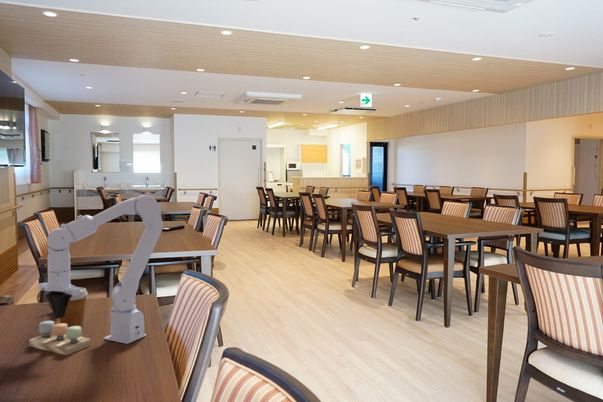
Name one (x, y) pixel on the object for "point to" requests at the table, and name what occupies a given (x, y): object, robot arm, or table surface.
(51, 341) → the button board
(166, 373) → the table surface
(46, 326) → the slate button
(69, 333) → the sage button
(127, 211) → the robot arm
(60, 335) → the peach round knob
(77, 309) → the disposable coffee cup
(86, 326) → the table surface
